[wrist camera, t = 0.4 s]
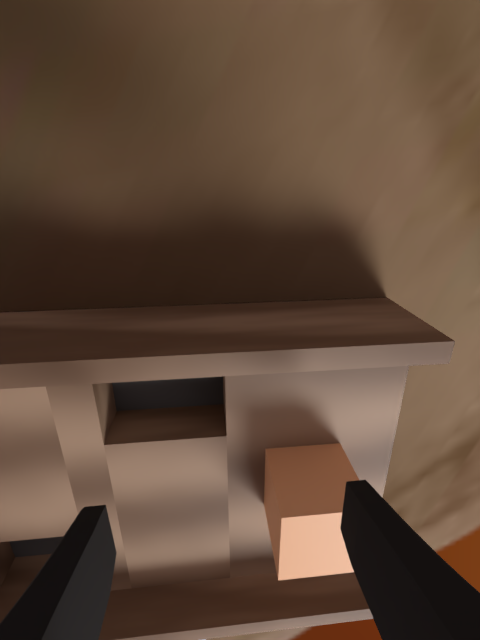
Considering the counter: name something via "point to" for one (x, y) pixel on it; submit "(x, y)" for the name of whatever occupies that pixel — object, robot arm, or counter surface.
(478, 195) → the counter surface
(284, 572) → the terracotta block
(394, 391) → the open tray box
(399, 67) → the counter surface
